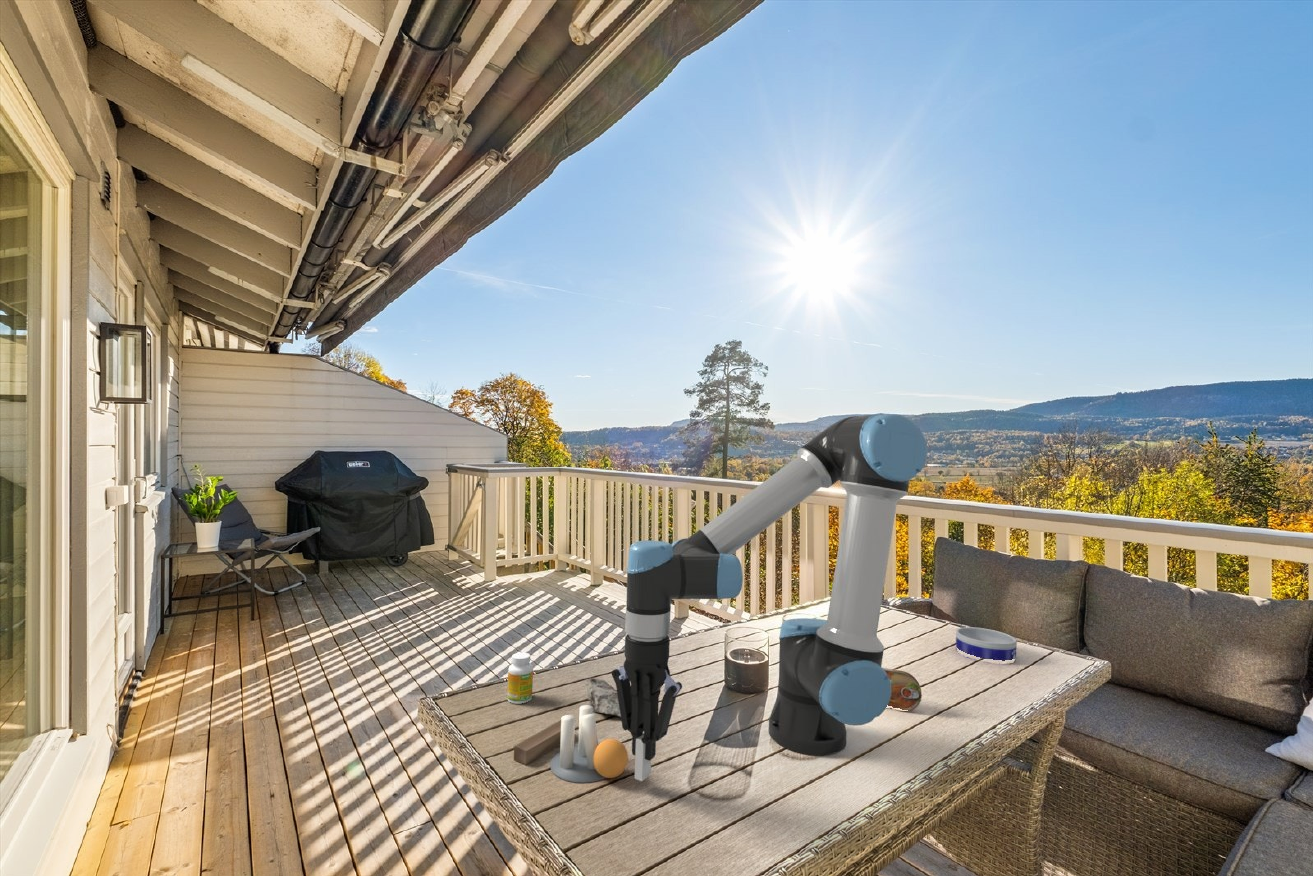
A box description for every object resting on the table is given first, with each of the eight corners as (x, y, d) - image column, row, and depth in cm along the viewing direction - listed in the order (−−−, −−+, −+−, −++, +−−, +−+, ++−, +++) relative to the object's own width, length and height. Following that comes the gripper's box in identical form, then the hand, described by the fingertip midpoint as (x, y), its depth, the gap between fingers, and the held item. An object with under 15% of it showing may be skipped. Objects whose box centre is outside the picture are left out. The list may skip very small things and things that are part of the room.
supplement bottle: (520, 706, 126) (522, 661, 126) (501, 700, 129) (503, 656, 129) (537, 697, 131) (538, 654, 131) (518, 692, 133) (520, 649, 134)
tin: (849, 701, 135) (850, 664, 135) (851, 696, 137) (852, 660, 138) (921, 716, 128) (922, 677, 128) (921, 710, 131) (922, 672, 131)
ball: (612, 726, 105) (602, 755, 105) (592, 739, 99) (582, 770, 100) (638, 746, 102) (628, 775, 102) (620, 761, 97) (608, 792, 97)
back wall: (573, 736, 114) (574, 723, 114) (525, 765, 103) (526, 751, 103) (562, 731, 116) (562, 719, 116) (513, 760, 105) (514, 746, 105)
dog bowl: (967, 643, 180) (967, 623, 180) (1023, 657, 169) (1023, 636, 169) (947, 654, 170) (947, 633, 170) (1006, 669, 158) (1006, 647, 158)
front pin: (603, 764, 104) (597, 714, 105) (595, 770, 101) (588, 719, 103) (593, 762, 105) (587, 713, 106) (584, 768, 103) (578, 718, 104)
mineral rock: (632, 721, 122) (632, 699, 122) (594, 724, 120) (595, 702, 120) (617, 692, 136) (617, 673, 136) (583, 695, 134) (583, 675, 134)
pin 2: (593, 753, 108) (595, 707, 108) (585, 759, 106) (587, 712, 106) (583, 749, 109) (585, 704, 109) (575, 755, 107) (576, 708, 107)
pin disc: (630, 759, 106) (631, 758, 106) (589, 791, 96) (589, 790, 96) (580, 740, 113) (580, 739, 113) (535, 767, 103) (536, 766, 103)
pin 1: (576, 765, 104) (577, 717, 104) (567, 771, 102) (568, 722, 102) (565, 761, 105) (567, 713, 105) (556, 767, 103) (558, 718, 103)
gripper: (692, 636, 98) (687, 778, 97) (628, 622, 105) (624, 754, 104) (669, 649, 91) (664, 801, 91) (603, 632, 98) (598, 773, 98)
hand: (642, 776), depth 98 cm, fingers closed
